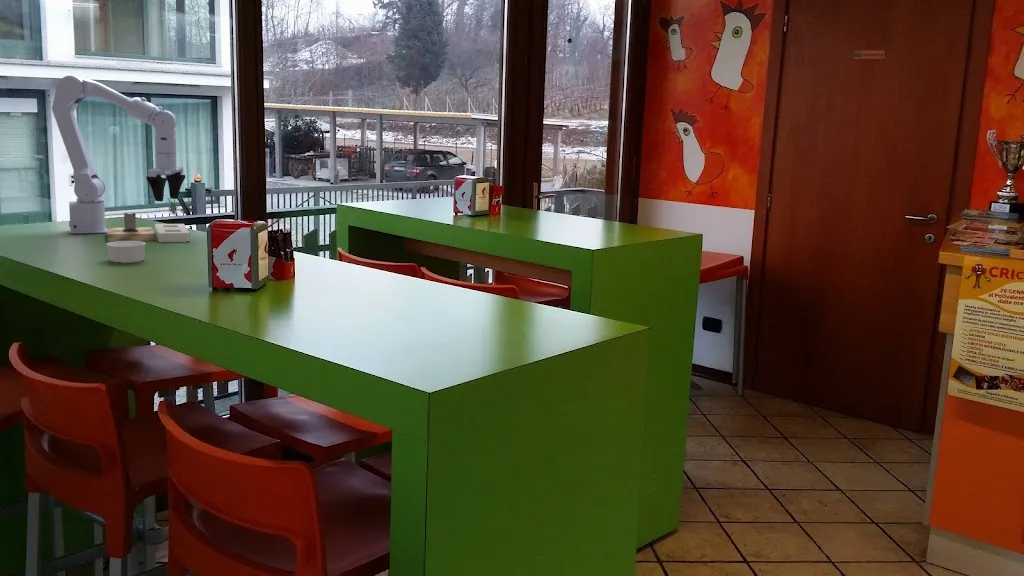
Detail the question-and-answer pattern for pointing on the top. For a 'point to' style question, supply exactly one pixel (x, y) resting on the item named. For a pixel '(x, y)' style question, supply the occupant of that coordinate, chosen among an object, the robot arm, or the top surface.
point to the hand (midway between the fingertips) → (166, 199)
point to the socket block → (130, 234)
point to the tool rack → (171, 233)
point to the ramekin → (126, 251)
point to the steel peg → (130, 222)
